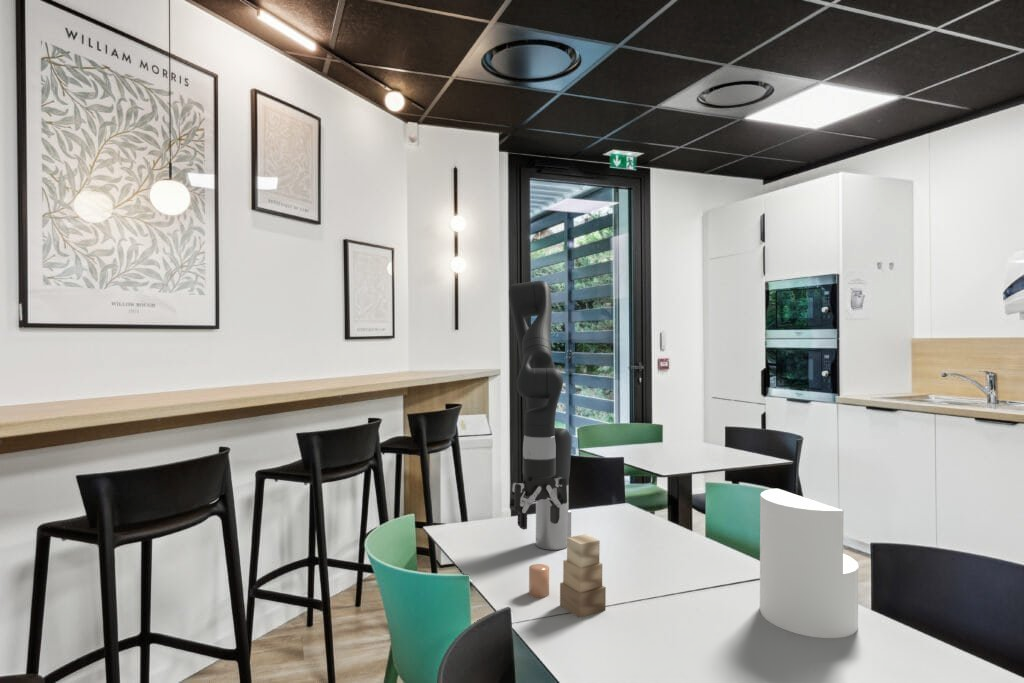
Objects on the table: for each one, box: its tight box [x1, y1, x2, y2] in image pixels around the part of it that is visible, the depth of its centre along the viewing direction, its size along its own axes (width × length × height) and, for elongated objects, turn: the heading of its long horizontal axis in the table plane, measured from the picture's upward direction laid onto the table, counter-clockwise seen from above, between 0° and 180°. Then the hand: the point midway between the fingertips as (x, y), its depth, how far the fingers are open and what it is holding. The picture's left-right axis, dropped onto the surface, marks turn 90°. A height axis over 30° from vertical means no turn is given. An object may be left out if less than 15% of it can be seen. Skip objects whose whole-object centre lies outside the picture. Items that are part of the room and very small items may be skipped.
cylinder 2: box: [759, 488, 859, 639], centre depth 131 cm, size 19×19×25 cm
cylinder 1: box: [528, 563, 550, 599], centre depth 142 cm, size 5×5×6 cm
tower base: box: [559, 582, 607, 618], centre depth 135 cm, size 7×7×5 cm
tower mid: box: [562, 559, 603, 593], centre depth 135 cm, size 6×6×5 cm
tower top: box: [566, 534, 601, 568], centre depth 135 cm, size 5×5×5 cm
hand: (538, 525), depth 142 cm, fingers open, 8 cm apart
